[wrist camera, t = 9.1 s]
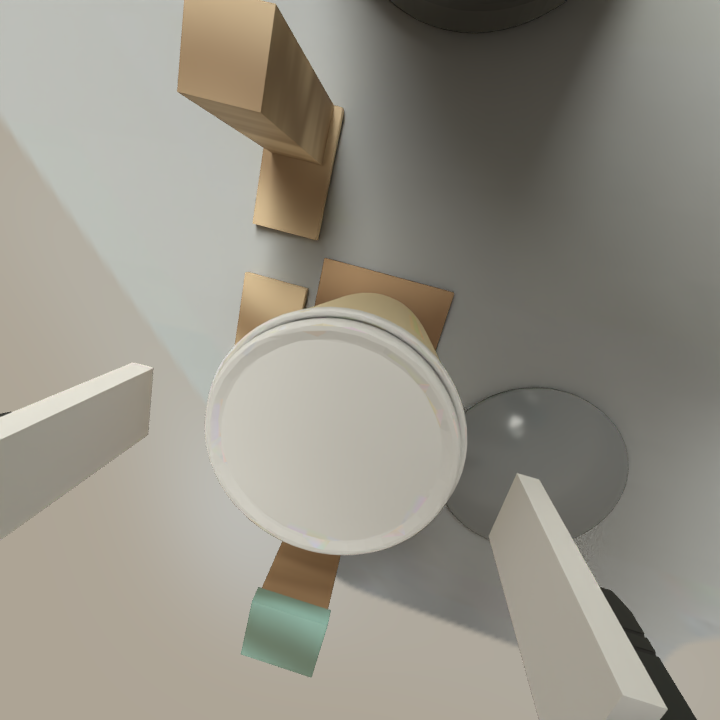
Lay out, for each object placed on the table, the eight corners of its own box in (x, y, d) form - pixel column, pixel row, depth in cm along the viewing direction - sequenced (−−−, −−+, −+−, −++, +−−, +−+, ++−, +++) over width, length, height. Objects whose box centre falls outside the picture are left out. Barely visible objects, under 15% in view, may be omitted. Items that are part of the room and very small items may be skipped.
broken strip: (275, 93, 21) (170, -21, 12) (344, 110, 21) (291, 7, 12) (233, 371, 26) (140, 437, 17) (288, 387, 26) (222, 462, 17)
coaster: (470, 365, 24) (471, 367, 23) (660, 418, 23) (664, 421, 23) (416, 514, 28) (416, 518, 27) (577, 563, 27) (580, 567, 27)
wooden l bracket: (326, 258, 23) (262, 267, 13) (453, 292, 23) (484, 328, 13) (273, 508, 29) (202, 641, 19) (372, 539, 29) (351, 690, 19)
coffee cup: (325, 433, 26) (258, 580, 15) (275, 305, 24) (149, 361, 12) (459, 400, 24) (501, 540, 13) (418, 256, 22) (423, 269, 10)
